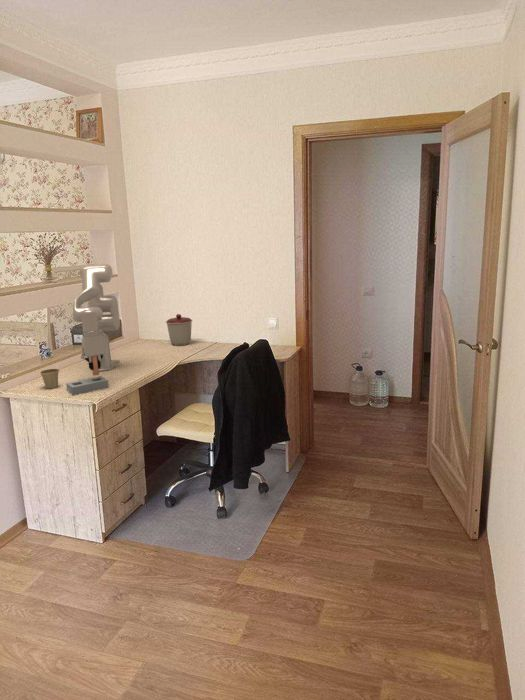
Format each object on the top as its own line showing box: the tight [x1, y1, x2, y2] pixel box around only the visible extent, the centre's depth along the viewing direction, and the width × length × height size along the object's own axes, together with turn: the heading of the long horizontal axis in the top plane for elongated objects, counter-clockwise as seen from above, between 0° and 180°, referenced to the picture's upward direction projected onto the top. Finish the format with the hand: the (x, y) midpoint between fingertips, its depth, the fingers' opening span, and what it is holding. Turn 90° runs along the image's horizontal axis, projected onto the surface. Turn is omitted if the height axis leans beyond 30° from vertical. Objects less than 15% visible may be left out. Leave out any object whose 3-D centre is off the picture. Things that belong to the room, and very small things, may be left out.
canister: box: [165, 313, 193, 347], centre depth 364 cm, size 18×18×21 cm
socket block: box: [65, 375, 109, 396], centre depth 271 cm, size 18×10×4 cm, turn 127°
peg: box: [91, 356, 100, 376], centre depth 272 cm, size 3×3×11 cm
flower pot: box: [39, 368, 60, 389], centre depth 278 cm, size 9×9×9 cm
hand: (95, 368), depth 272 cm, fingers closed on peg, 3 cm apart
